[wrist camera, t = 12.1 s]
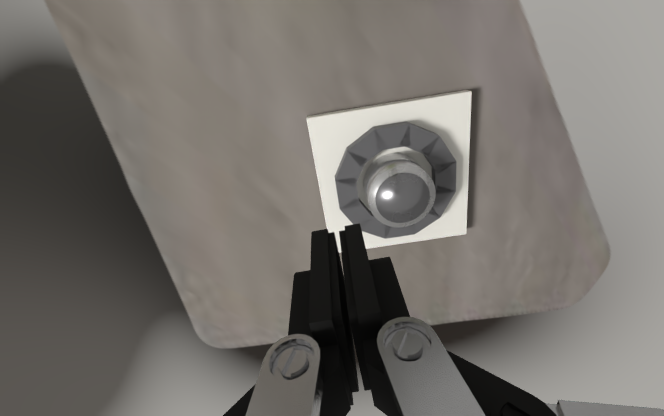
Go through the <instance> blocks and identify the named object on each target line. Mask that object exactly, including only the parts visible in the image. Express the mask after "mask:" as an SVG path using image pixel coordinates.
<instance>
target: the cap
mask: <svg viewBox="0 0 664 416" xmlns="http://www.w3.org/2000/svg"><path fill="white" fill-rule="evenodd" d="M363 187H364V191H365V194H366V198H367V201H368V204H369V207H370V210H371V212H372V214H373V215H374V217H375V218H376V219H377V220H378V221H380V222H381V223H383V224H385V225H387V226H391V227H406V226H410V225H413V224H415V223H417V222H419V221H420V220H422V219H423V218H424V217H425V216H426V215H427V214H428V213H429V211H430V210H431V208H432V206H433V204H434V201H435V196H436V190H435V185H434V183H433V181H432V179H431V177H430V176H429V175H428V174H427V173H426V172H425V170H424V169H423V168H422V167H421V166H420V165H419V164H418V163H417V162H416V161H415V160H414V159H413V158H412V157H410V156H408V155H406V154H402V153H389V154H386V155H383V156H381V157H379V158H377V159H376V160H375V161H373V162H372V163H371V165H370V166H369V167H368V169H367V170H366V173H365V175H364V180H363Z"/></svg>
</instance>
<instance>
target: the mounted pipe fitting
mask: <svg viewBox="0 0 664 416" xmlns="http://www.w3.org/2000/svg"><path fill="white" fill-rule="evenodd" d="M471 95H472V91H469V90H462V91H456V92H450V93H444V94H438V95H432V96H426V97H420V98H414V99H408V100H402V101H396V102H390V103H384V104H378V105H371V106H365V107H359V108H353V109H347V110H341V111H335V112H329V113H323V114H317V115H311V116H307V118H306V119H307V124H308V129H309V135H310V140H311V146H312V151H313V156H314V162H315V167H316V172H317V178H318V183H319V188H320V194H321V199H322V204H323V210H324V215H325V221H326V226H327V229H328V232H329V233H331V232H334V233H335V237H336V242H337V247H338V252H339V253H341V244H340V236H339V231H343V230H345V226H347V225H353V224H359V223H360V226H361V230H362V234H363V239H364V243H365V247H366V249H368V248H375V247H381V246H388V245H395V244H402V243H408V242H415V241H422V240H429V239H436V238H442V237H449V236H456V235H463V234H466V228H467V202H468V175H469V148H470V121H471ZM389 153H402V154H406V155H408V156H410V157H412V158H413V159H414V160H415V161H416V162H417V163H418V164H419V165H420V166H421V167H422V168H423V169H424V170H425V172H426V173H427V174H428V175H429V176H430V177H431V179H432V181H433V183H434V185H435V190H436V196H435V201H434V204H433V206H432V208H431V210H430V211H429V213H428V214H427V215H426V216H425V217H424V218H423V219H422V220H420V221H419V222H417V223H415V224H413V225H410V226H406V227H391V226H387V225H385V224H383V223H381V222H380V221H378V220H377V219H376V218H375V217H374V215H373V214H372V212H371V210H370V207H369V204H368V201H367V198H366V194H365V191H364V187H363V180H364V175H365V173H366V170H367V169H368V167H369V166H370V165H371V163H372V162H373V161H375V160H376V159H377V158H379V157H381V156H383V155H386V154H389Z"/></svg>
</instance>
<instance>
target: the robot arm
mask: <svg viewBox="0 0 664 416" xmlns="http://www.w3.org/2000/svg"><path fill="white" fill-rule="evenodd" d="M339 236H340V244H341V253H342V262H343V271H344V275H343V271H342V266H341V261H340V256H339V252H338V247H337V242H336V237H335V233H334V232H331V233H329V232H328V229H324V230H319V231H313V232H312V237H311V270H309V271H303V272H297V273H295V274H294V281H293V291H292V301H291V311H290V321H289V331H288V336H286V337H284V338H281V339H280V340H278V341H277V342H276V343H274V344H273V345H272V347H271V348H270V349H269V350H268V352H267V354H266V356H265V358H264V360H263V363H262V366H261V369H260V373H259V376H258V379H257V382H256V384H255V385H254V386H253V387H252V388H251V389H250V390H249V391H248V392H247V393H246V394H245V395H244V396H243V397H242V398H241V399H240V400H239V401H238V402H237V403H236V404H235V405H234V406H232V407H231V408H230V409H229V410H228V412H226V413H225V414H224V415H223V416H346V415H347V413H348V412H349V411H350V409H351V407H350V405H353V397H352V392H358V391H359V387H358V379H357V370H356V362H355V353H354V345H353V339H354V344H355V348H356V353H357V357H358V362H359V367H360V371H361V375H362V380H363V385H364V390H371V392H372V396H373V401H374V406H376V407H377V408H378V409H379V410H381V411H382V412H383V413H385V414H386V415H387V416H664V410H663V409H657V408H646V407H634V406H623V405H611V404H599V403H587V402H575V401H564V400H558V403H557V404H546V403H544V402H542V401H541V400H539V399H538V398H536V397H535V396H533V395H531V394H529V393H528V392H526V391H524V390H522V389H520V388H518V387H516V386H514V385H512V384H510V383H508V382H507V381H505V380H503V379H501V378H499V377H497V376H495V375H493V374H491V373H489V372H487V371H485V370H484V369H481V368H480V367H478V366H476V365H474V364H472V363H470V362H468V361H466V360H464V359H463V358H460V357H459V356H457V355H455V354H453V353H451V352H449V351H447V350H445V348H444V346H443V345H442V343H441V341H440V339H439V338H438V336H437V335H436V333H435V331H434V330H433V329H432V328H431V327H430V325H428V324H427V323H425V322H424V321H422V320H419V319H416V318H414V317H410V315H409V312H408V309H407V306H406V303H405V300H404V297H403V295H402V292H401V289H400V286H399V283H398V280H397V277H396V274H395V271H394V268H393V265H392V262H391V259H390V257H385V258H379V259H374V260H368V256H367V252H366V247H365V243H364V239H363V234H362V230H361V226H360V223H359V224H353V225H347V226H345V230H343V231H339ZM352 334H353V336H352Z"/></svg>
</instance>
